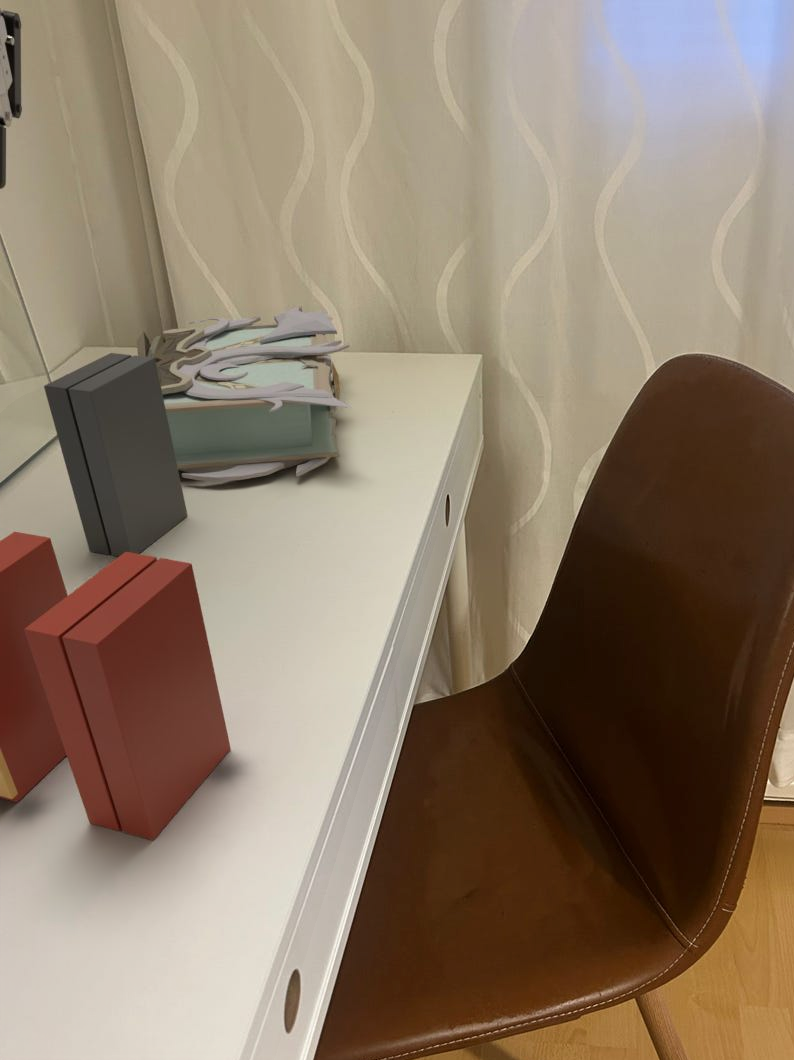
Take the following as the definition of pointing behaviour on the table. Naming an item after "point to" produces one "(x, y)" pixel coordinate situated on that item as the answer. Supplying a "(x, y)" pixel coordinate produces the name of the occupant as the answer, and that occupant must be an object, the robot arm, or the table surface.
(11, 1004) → the table surface
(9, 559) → the red book
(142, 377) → the grey books
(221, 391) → the ornate book
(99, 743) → the red books
